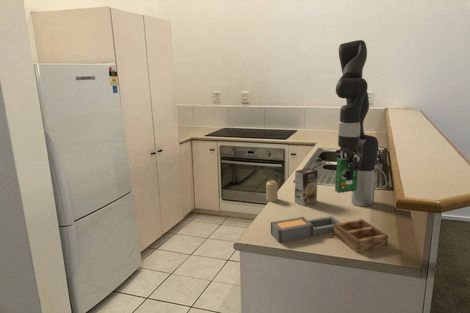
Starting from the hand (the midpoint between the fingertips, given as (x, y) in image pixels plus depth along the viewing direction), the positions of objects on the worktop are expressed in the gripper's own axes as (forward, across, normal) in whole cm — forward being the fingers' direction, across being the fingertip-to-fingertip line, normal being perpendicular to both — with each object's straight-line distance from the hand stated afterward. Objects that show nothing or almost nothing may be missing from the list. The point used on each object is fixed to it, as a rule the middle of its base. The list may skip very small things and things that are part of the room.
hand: (346, 178), depth 134 cm
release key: (+23, -6, -20) cm, 31 cm away
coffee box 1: (+23, -36, +1) cm, 43 cm away
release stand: (+23, -6, -13) cm, 27 cm away
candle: (+23, -44, -13) cm, 52 cm away
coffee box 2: (+5, 0, 0) cm, 5 cm away
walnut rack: (+23, +6, +3) cm, 24 cm away
